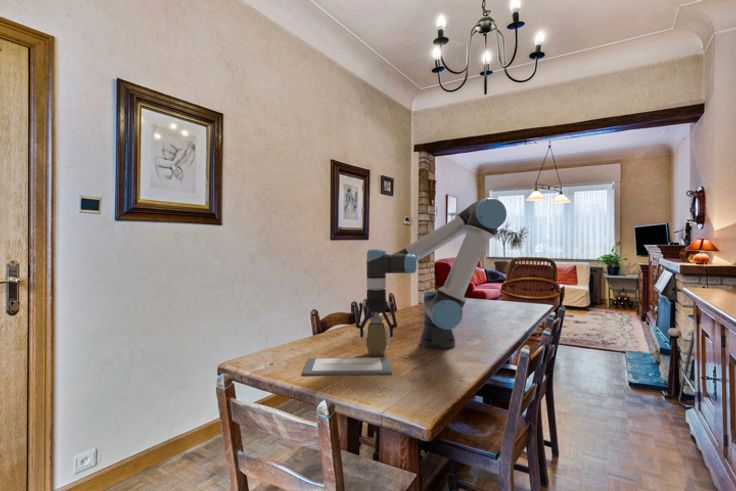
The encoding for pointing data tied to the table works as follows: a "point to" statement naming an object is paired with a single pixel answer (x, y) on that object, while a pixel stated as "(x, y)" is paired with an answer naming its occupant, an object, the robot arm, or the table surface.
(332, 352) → the table surface
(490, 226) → the robot arm
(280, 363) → the table surface
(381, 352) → the squeeze bottle
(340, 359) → the writing board
